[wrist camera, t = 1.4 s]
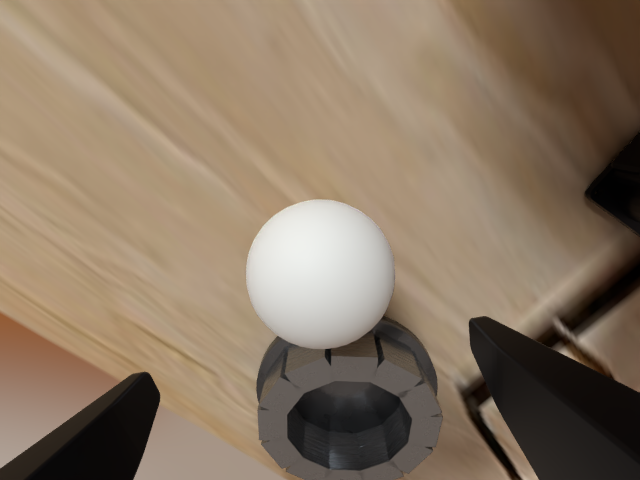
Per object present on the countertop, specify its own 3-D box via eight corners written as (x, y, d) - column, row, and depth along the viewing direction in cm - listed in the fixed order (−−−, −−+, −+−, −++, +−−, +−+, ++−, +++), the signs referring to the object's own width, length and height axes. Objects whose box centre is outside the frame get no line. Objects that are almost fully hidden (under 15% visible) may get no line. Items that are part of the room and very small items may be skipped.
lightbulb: (317, 147, 19) (307, 185, 9) (389, 212, 21) (451, 308, 10) (256, 220, 21) (191, 321, 11) (326, 275, 22) (327, 411, 12)
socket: (470, 363, 25) (495, 406, 21) (367, 465, 29) (373, 515, 26) (316, 277, 22) (314, 310, 19) (229, 402, 27) (214, 449, 23)
